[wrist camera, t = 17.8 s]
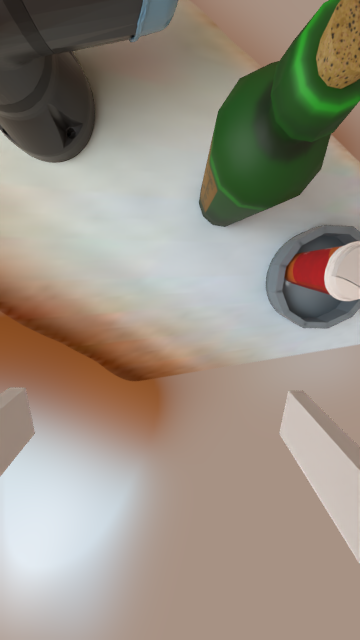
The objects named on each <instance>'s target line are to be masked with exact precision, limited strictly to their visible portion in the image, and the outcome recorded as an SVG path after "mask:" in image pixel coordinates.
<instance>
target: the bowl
mask: <svg viewBox="0 0 360 640" xmlns="http://www.w3.org/2000/svg"><path fill="white" fill-rule="evenodd" d="M355 241H360V232H359V231H358V230H357V229H356V228H354V227H353V226H333V225H324V226H320V227H316V228H312V229H310V230H308V231H306V232H304V233H301V234H299V235H297V236H295V237H293V238H292V239H290V240H289V241H288V242H286V243H285V244H284V245H283V246H282V247H281V248H280V249H279V250H278V252H277V253H276V254H275V256H274V258H273V259H272V261H271V263H270V266H269V269H268V272H267V277H266V291H267V296H268V299H269V301H270V303H271V305H272V306H273V308H274V309H275V310H276V312H278V313H279V314H280V315H282V316H283V317H285V318H287V319H288V320H290V321H291V322H293V323H295V324H297V325H299V326H301V327H303V328H330V327H332V326H334V325H336V324H338V323H340V322H342V321H344V320H346V319H349V318H351V317H352V316H353V315H354V314H355V313H356V312H357V311H358V309H359V308H360V299H357V300H353V301H341V300H338V299H336V298H334V297H332V296H331V295H329V294H325V293H322V292H319V291H315V290H312V289H308V288H305V287H302V286H299V285H295V284H292V283H290V282H288V281H287V280H286V279H285V278H284V276H285V270H286V266H287V265H288V264H289V262H290V261H291V260H292V258H293V257H294V256H295V254H298V253H303V252H309V251H315V250H321V249H327V248H333V247H340V246H344V245H347V244H349V243H351V242H355Z"/></svg>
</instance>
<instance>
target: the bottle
mask: <svg viewBox="0 0 360 640" xmlns="http://www.w3.org/2000/svg"><path fill="white" fill-rule="evenodd" d="M359 101H360V0H329V1H327V2H325V3H324V4H323V5H322V6H321V7H320V9H319V10H318V11H317V12H316V14H315V15H314V16H313V17H312V19H311V20H310V21H309V22H308V23H307V25H306V26H305V27H304V28H303V30H302V31H301V32H300V34H299V35H298V36H297V37H296V38H295V40H294V41H293V42H292V44H291V45H290V47H289V48H288V50H287V51H286V53H285V54H284V55H283V57H282V58H281V60H280V61H278V62H274V63H271V64H269V65H267V66H265V67H262V68H260V69H258V70H256V71H254V72H252V73H250V74H248V75H246V76H244V77H242V78H240V79H239V81H238V82H237V84H236V85H235V87H234V88H233V90H232V91H231V93H230V94H229V96H228V97H227V99H226V100H225V102H224V103H223V105H222V106H221V108H220V109H219V111H218V115H217V119H216V124H215V128H214V133H213V137H212V142H211V146H210V151H209V155H208V160H207V164H206V169H205V173H204V178H203V182H202V187H201V193H200V200H199V205H200V208H201V211H202V214H203V217H205V218H206V219H207V220H208V221H209V222H210V223H211V224H212V225H217V226H224V227H225V226H228V225H230V224H232V223H235V222H237V221H240V220H242V219H244V218H247V217H249V216H252V215H254V214H256V213H259V212H261V211H264V210H266V209H268V208H271V207H273V206H275V205H278V204H280V203H282V202H285V201H287V200H289V199H292V198H294V197H296V196H298V195H300V194H301V193H302V191H303V190H304V189H305V188H306V187H307V185H308V184H309V183H310V182H311V180H312V179H313V178H314V177H315V176H316V174H317V173H318V172H319V171H320V169H321V167H322V164H323V160H324V157H325V153H326V150H327V146H328V142H329V139H330V135H331V133H333V132H334V131H335V130H336V129H337V127H338V126H339V125H340V124H341V123H342V121H343V120H344V119H345V118H346V117H347V115H348V114H349V113H350V112H351V110H352V109H353V108H354V107H355V106H356V105H357V103H358V102H359Z"/></svg>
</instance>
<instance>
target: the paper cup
mask: <svg viewBox="0 0 360 640" xmlns="http://www.w3.org/2000/svg"><path fill="white" fill-rule="evenodd" d="M284 278H285V279H286V280H287V281H288V282H290V283H292V284H295V285H299V286H302V287H305V288H308V289H312V290H315V291H319V292H322V293H325V294H329V295H331V296H332V297H334V298H336V299H338V300H341V301H353V300H357V299H360V241H355V242H351V243H349V244H347V245H344V246H340V247H333V248H327V249H321V250H315V251H309V252H303V253H298V254H295V256H294V257H293V258H292V260H291V261H290V262H289V264H288V265H287V266H286V270H285V276H284Z"/></svg>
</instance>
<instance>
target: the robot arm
mask: <svg viewBox="0 0 360 640" xmlns="http://www.w3.org/2000/svg"><path fill="white" fill-rule="evenodd" d="M177 3H178V0H0V130H1V131H2V132H3V134H4V135H5V136H6V137H7V138H8V139H9V140H10V141H11V142H13V143H14V144H15V145H16V146H18V147H19V148H20V149H22V150H23V151H24V152H26V153H27V154H29V155H31V156H32V157H34V158H37V159H39V160H42V161H47V162H61V161H65V160H68V159H70V158H72V157H74V156H75V155H77V154H78V153H79V152H80V151H81V150H82V149H83V148H84V147H85V145H86V144H87V142H88V140H89V138H90V136H91V133H92V130H93V125H94V116H95V110H94V100H93V95H92V92H91V88H90V85H89V83H88V81H87V78H86V76H85V74H84V72H83V70H82V68H81V66H80V64H79V62H78V60H77V59H76V57H75V56H74V54H73V53H72V51H75V50H80V49H85V48H89V47H94V46H99V45H104V44H109V43H114V42H119V41H124V40H129V41H130V42H135V41H137V40H138V38H139V37H141V36H144V35H148V34H151V33H155V32H158V31H161V30H163V29H164V28H166V27H167V26H168V25H169V23H170V21H171V19H172V17H173V15H174V12H175V9H176V7H177ZM34 434H35V432H34V427H33V422H32V417H31V412H30V407H29V403H28V398H27V393H26V388H8V389H7V390H6V391H4V392H3V393H2V394H0V476H1V475H2V474H3V472H4V471H5V470H6V469H7V467H8V466H9V465H10V464H11V462H12V461H13V460H14V459H15V457H16V456H17V455H18V454H19V452H20V451H21V450H22V449H23V447H24V446H25V445H26V444H27V442H28V441H29V440H30V439H31V437H32V436H33V435H34ZM280 435H281V437H282V439H283V440H284V442H285V443H286V445H287V447H288V448H289V449H290V452H291V453H292V455H293V456H294V458H295V460H296V461H297V463H298V465H299V466H300V468H301V470H302V471H303V473H304V474H305V476H306V478H307V479H308V481H309V482H310V484H311V486H312V487H313V489H314V491H315V492H316V494H317V496H318V497H319V499H320V500H321V502H322V504H323V505H324V507H325V508H326V510H327V511H328V513H329V515H330V517H331V518H332V520H333V522H334V523H335V525H336V526H337V528H338V530H339V531H340V533H341V534H342V536H343V537H344V539H345V541H346V543H347V544H348V546H349V547H350V549H351V551H352V552H353V554H354V556H355V557H356V559H357V561H358V562H359V564H360V447H359V446H358V445H357V444H356V443H355V442H354V441H353V440H352V439H351V438H350V437H349V436H348V435H347V434H346V433H345V432H344V431H343V430H342V429H341V428H340V427H339V426H338V425H337V424H336V423H335V422H334V421H333V420H332V419H331V418H330V417H329V416H328V415H327V414H326V413H325V412H324V411H323V410H322V409H321V408H320V407H319V406H318V405H317V404H316V403H315V402H314V401H313V400H312V399H311V398H310V397H309V396H308V395H307V394H306V393H305V392H304V391H288V396H287V401H286V405H285V410H284V414H283V419H282V424H281V428H280Z"/></svg>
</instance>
